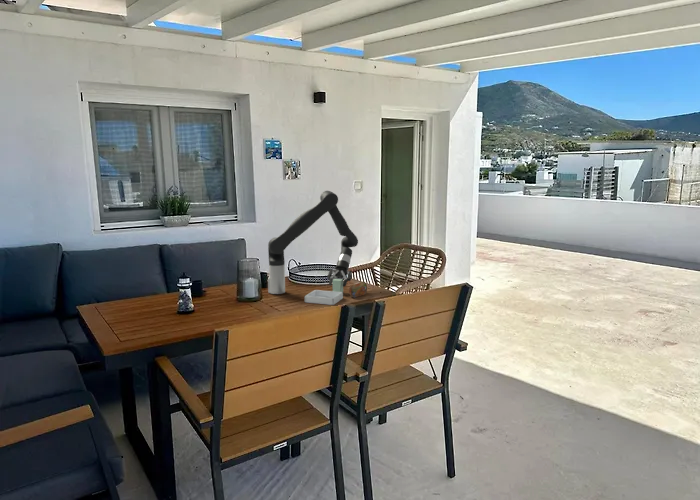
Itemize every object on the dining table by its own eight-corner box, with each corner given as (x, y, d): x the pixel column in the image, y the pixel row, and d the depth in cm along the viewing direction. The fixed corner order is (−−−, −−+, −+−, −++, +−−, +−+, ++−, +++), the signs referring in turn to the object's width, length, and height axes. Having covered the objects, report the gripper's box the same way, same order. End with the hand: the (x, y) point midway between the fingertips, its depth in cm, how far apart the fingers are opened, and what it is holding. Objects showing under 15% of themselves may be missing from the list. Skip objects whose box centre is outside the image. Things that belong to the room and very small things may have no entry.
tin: (352, 299, 275) (352, 285, 274) (348, 298, 277) (348, 284, 276) (367, 294, 287) (367, 280, 286) (363, 293, 289) (363, 280, 288)
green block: (332, 294, 286) (332, 280, 284) (335, 293, 290) (335, 278, 289) (340, 295, 284) (340, 280, 283) (343, 293, 289) (343, 279, 288)
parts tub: (304, 303, 268) (304, 296, 267) (315, 296, 282) (315, 289, 281) (333, 305, 262) (333, 298, 262) (342, 299, 276) (342, 292, 276)
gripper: (331, 258, 294) (324, 281, 285) (353, 260, 289) (346, 282, 280) (334, 265, 299) (327, 287, 290) (355, 267, 295) (349, 289, 286)
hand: (336, 285), depth 285 cm, fingers open, 8 cm apart
